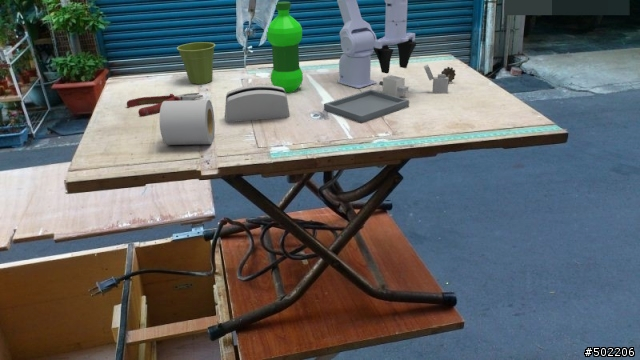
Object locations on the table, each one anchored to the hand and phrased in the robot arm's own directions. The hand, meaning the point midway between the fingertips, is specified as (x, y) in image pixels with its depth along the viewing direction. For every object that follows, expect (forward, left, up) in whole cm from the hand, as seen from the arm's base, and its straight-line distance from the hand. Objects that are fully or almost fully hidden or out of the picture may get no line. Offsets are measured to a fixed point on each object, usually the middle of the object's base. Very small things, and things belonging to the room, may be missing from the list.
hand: (394, 70), depth 150 cm
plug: (0, 0, -7) cm, 7 cm away
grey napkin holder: (-12, -39, -8) cm, 41 cm away
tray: (+3, -14, -7) cm, 16 cm away
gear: (+4, +20, -7) cm, 22 cm away
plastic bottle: (-26, -18, -7) cm, 33 cm away
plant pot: (-53, -32, -7) cm, 62 cm away
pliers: (-38, -52, -8) cm, 65 cm away
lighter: (+7, +10, -7) cm, 14 cm away
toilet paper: (-9, -60, -8) cm, 61 cm away
